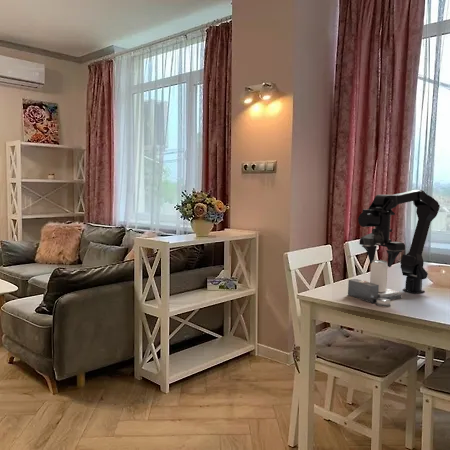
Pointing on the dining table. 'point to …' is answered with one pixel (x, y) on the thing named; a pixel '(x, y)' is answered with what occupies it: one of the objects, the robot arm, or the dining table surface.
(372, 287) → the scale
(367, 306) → the dining table surface
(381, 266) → the can
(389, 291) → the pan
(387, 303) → the spacer
